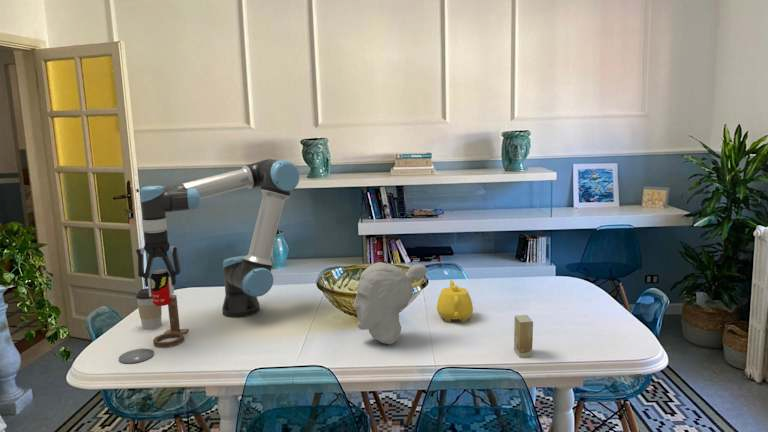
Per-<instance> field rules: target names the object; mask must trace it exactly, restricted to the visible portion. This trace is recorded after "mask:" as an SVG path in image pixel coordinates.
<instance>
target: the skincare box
mask: <svg viewBox="0 0 768 432" xmlns="http://www.w3.org/2000/svg"><path fill="white" fill-rule="evenodd" d="M513 328H514V333H513V334H514V335H513V336H514V337H513V351H514V352H515V353H516V355H517V356H518V357H519V358H532V357H533V340H534V339H533V336H534V335H533V333H534V321H533V320H532V319H531V317H529V315H528V314H522V315H518V314H517V315H514V327H513Z"/></svg>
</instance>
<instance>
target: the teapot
mask: <svg viewBox="0 0 768 432" xmlns="http://www.w3.org/2000/svg"><path fill="white" fill-rule="evenodd" d="M436 304H437V305H436V310H437V313H438V315H439V317H441V318H442V319H444V322H445V323H450V322H452V320H460V322H461V323H464V322H465V323H466V322H467V321H468V319H469V318H470V317H471V316H472V315H473V311H474V306H473V302H472V299H471V296H470V294H469V292H468V290H467V289H466V288H465V287H459V286H458V285H455V282H454V280H453V279H451V280H450V281H449V287H444V288H442V289H441V291H440V293H439V296H438V299H437V303H436Z"/></svg>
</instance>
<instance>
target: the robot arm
mask: <svg viewBox="0 0 768 432" xmlns="http://www.w3.org/2000/svg"><path fill="white" fill-rule="evenodd" d="M299 182H300V172H299V169H298V168H297V166H296V165H295V164H294V163H293V162H291V161H288V160H284V159H272V158H269V159H267V158H266V159H263V160H260V161H256V162H253V163H250V164H246V165H243V166H242V167H241V169H236V170H232V171H228V172H224V173H220V174H216V175H212V176H208V177H207V176H206V177H204V178H199V179H195V180H191V181H187V182H183V183H179V184H174V185H164V186H162V185H147V186H143V187H141V188H140V206H141V214H142V225H143V226H142V228H143V231H144V233H143V236H144V246H142V247H138V248H137V249H136V250H135V251H136V254H137V269H138V270H137V272H138V273H137V274H138V277H139V278H143V279H144V286H145V288H148V289H149V297H151V296H152V288H151V278H150V277H151V272H152V271H151V270H152V266H153V262H154V259H155V258H161V260H163V262H164V264H165V266H166V268H167V269H166V270H167V272H168V273H169V275H170V276H169V288H170V295H175V290H174V289H175V288H174V286H175V285H176V284H177V279H176V278H177V277H176V276H178V275H179V274H180V273H181V266H180V260H179V259H180V258H179V255H178V251H179V246H178V245H175V246H174V245H171V244H170V242H169V234H168V231H167V228H168V225H167V214H166V213H172V212H180V211H192V210H196V209H198V208H199V207H200V206H201V200H202V199H203V200H204V199H207V198H210V197H215V196H218V195H222V194H226V193H230V192H233V191H237V190H241V189H245V188H247V189H249V190H251V189H254V188H256V189H257V188H260V191H261V193H262V198H261V203H260V207H259V211H258V214H257V217H256V222H255V225H254V230H253V234H252V237H251V242H250V246H249V250H248V253H247V255H238V256H232V257H228V258H225V259H224V260H223V261H222V265H223V266H222V271H223V281H224V291H225V295H224V299H223V304H222V307H221V308H222V309H221V310H222V314H223V316H225V317H230V318H241V317H242V318H244V317H248V316H252V315H254V314H256V313H259V312H260V310H261V305H260V302H259V299H258V297H263V296H265V295H266V294H267V293H269V291H271V289H272V287H273V284H274V275H273V273H272V270H273V269H272V268H273V263H272V260H271V256H272V252H273V248H274V243H275V242H276V241H275V240H276V237H277V233H278V228H279V224H280V220H281V216H282V213H283V208H284V205H285V202H286V200H288V199H289V198H291V194H292V191H293V190H294V189H295V188H296V187H297V186H298V184H299ZM169 250H170V252H171V253H172V261H173V265H174V266H173V265H172V262H171V260H170V258H169V255H168V251H169ZM145 253H147V255H148V257H147V258H148V259H147V263H146V267H145V263H144V261H145V260H144V259H145V257H144V254H145ZM144 268H145V269H144ZM144 270H145V271H144Z"/></svg>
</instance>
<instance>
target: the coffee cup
mask: <svg viewBox="0 0 768 432" xmlns="http://www.w3.org/2000/svg"><path fill="white" fill-rule="evenodd" d="M135 298H136V301H137V308H138V315H139V319H140V322H141V327H142V329H143V330H148V331H149V330H150V331H151V330H155V329H156V330H157V329H159V328H160V327H161V326H162V315H163V314H162V306H156V305H155V304H154V303H153V298H152V296H151V297H149V289H148V287H145V288H143V289H140V290H138V292H136V294H135Z"/></svg>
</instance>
